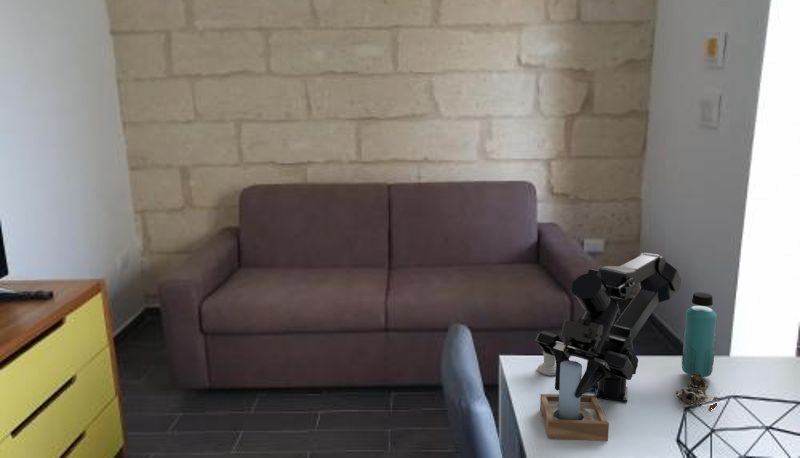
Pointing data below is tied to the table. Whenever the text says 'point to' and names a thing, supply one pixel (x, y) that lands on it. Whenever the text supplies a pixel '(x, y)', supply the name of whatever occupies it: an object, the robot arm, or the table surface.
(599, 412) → the walnut box
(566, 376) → the peg
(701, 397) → the crumpled brown clump
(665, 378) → the table surface
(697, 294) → the beverage bottle
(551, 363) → the chess piece
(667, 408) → the table surface
